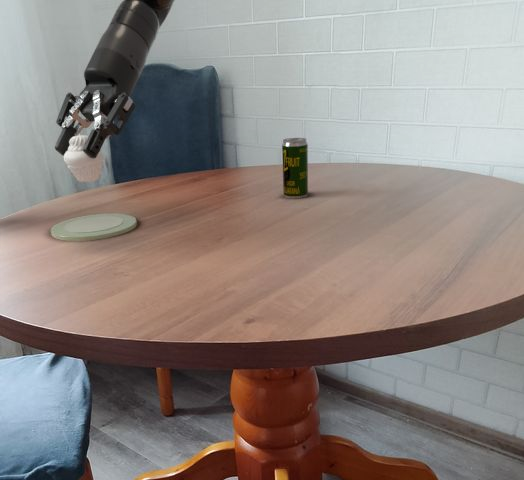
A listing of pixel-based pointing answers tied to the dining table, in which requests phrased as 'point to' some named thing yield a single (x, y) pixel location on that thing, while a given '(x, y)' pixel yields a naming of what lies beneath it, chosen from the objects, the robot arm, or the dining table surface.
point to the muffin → (83, 160)
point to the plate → (93, 227)
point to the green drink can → (295, 167)
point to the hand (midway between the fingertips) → (74, 153)
